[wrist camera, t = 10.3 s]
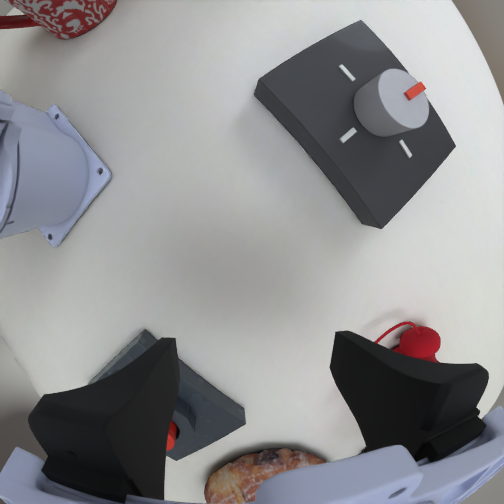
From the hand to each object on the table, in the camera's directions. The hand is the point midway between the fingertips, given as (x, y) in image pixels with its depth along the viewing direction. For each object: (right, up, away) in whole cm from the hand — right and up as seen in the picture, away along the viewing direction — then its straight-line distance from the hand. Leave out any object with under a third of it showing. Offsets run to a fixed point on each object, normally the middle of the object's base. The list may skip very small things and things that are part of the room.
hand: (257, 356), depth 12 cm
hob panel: (+8, +15, +7) cm, 19 cm away
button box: (-9, -9, +11) cm, 17 cm away
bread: (+2, -26, +15) cm, 30 cm away
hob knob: (+9, +14, +4) cm, 17 cm away
